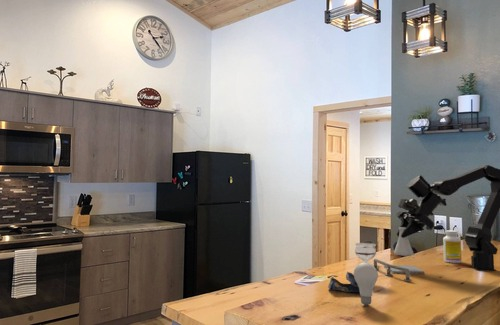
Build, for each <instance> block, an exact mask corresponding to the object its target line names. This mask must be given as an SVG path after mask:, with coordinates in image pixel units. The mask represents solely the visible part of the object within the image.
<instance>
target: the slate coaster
mask: <svg viewBox="0 0 500 325" xmlns="http://www.w3.org/2000/svg"><path fill="white" fill-rule="evenodd" d="M394 266H398V267H402V268H406V269H408V270H409V273H410V275H411V274H412V275H415V274H416V275H418V274H417V273H426V272H425V270H422V269H421V268H418V267H416V266H415V265H405V264H404V265H396V264H395V265H394ZM383 268H385V269H386V270H387V266H385V265H383ZM390 272H391V274H395V273H400V274H401V275H402V274H403V275H404V273H406V272H405V271H402V270H398V269H394V268H390Z"/></svg>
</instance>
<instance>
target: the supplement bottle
mask: <svg viewBox="0 0 500 325" xmlns="http://www.w3.org/2000/svg"><path fill="white" fill-rule="evenodd" d="M458 234H459V231H458V230H450V229H449V230H448V229H447V230H445V236H443V238H442V243H443V244H442V246H443V247H442V248H443V249H442V250H443V251H442V252H443V261H444V262H446V263H449V262H450V263H451V264H460V263H462V260H463V259H462V243H461V242H462V241H461V240H462V239H461V237H459V236H458ZM450 263H449V264H450Z"/></svg>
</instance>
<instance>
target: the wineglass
mask: <svg viewBox="0 0 500 325" xmlns="http://www.w3.org/2000/svg"><path fill="white" fill-rule="evenodd" d="M354 245H355V248H354V253H355V255H356V256H357V257H358V259H360V260H362V262H363V263H364V262H365V263H369V260H372V259H373V258H374V257H376V255H377V250H376V248H375V247H376V246H377V244H375V243H370V242H369V243H368V242H357V243H356V242H355V244H354Z"/></svg>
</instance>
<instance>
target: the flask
mask: <svg viewBox="0 0 500 325" xmlns="http://www.w3.org/2000/svg"><path fill="white" fill-rule="evenodd" d="M405 229H406V227H398V230H399V237H398V239H397V243H396V246H395V248H394V251H393V255H395V256H404V257H405V256H409V257H410V256H414V255H415V253H414V250H413V248H412V246H411V243H410V241H409V238H408V237H409V236H407V237H404V238H402V237H401V235H402V233H403V232H404V230H405Z"/></svg>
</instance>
